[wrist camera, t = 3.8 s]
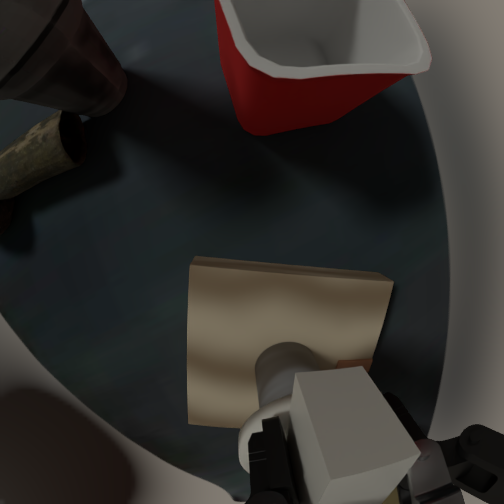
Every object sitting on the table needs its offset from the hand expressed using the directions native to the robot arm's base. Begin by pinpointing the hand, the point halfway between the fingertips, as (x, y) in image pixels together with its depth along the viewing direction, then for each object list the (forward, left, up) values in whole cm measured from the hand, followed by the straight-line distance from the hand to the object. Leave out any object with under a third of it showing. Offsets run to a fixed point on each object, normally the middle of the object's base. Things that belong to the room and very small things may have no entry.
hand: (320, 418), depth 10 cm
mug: (-19, -3, -11) cm, 22 cm away
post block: (+3, 0, -11) cm, 11 cm away
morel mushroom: (-8, -24, -11) cm, 28 cm away
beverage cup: (-16, -16, -11) cm, 25 cm away
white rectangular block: (+3, 0, -2) cm, 4 cm away
